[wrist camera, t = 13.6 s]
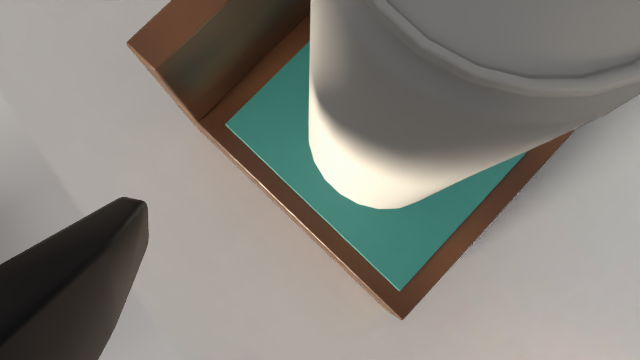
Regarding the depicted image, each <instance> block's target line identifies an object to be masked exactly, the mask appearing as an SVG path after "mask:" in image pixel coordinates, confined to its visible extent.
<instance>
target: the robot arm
mask: <svg viewBox="0 0 640 360" xmlns="http://www.w3.org/2000/svg"><path fill="white" fill-rule="evenodd" d="M148 238H149V233H148V207H147V204H146V203H145V202H144V201H142V200H137V199H133V198H128V197H121V198H118V199H116V200H115V201H113V202H111V203H109V204H107V205H106V206H104V207H102V208H100V209H99V210H97V211H95V212H93V213H91V214H90V215H88V216H86V217H84V218H82V219H81V220H79V221H77V222H75V223H74V224H72V225H70V226H69V227H67V228H65V229H63V230H61V231H59V232H58V233H56V234H54V235H52V236H50V237H49V238H47V239H45V240H43V241H42V242H40V243H38V244H36V245H34V246H33V247H31V248H29V249H27V250H25V251H24V252H22V253H20V254H18V255H17V256H15V257H13V258H11V259H10V260H8V261H6V262H4V263H2V264H1V265H0V360H98V359H99V357H100V355H101V353H102V351H103V350H104V348H105V346H106V344H107V342H108V340H109V338H110V336H111V334H112V332H113V330H114V328H115V326H116V324H117V321H118V319H119V317H120V314H121V312H122V309H123V307H124V304H125V302H126V299H127V296H128V294H129V292H130V289H131V287H132V284H133V282H134V279H135V277H136V274H137V271H138V269H139V266H140V264H141V261H142V259H143V256H144V254H145V251H146V248H147V245H148Z"/></svg>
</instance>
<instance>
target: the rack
mask: <svg viewBox="0 0 640 360" xmlns="http://www.w3.org/2000/svg"><path fill="white" fill-rule="evenodd" d="M310 13H311V0H171V1H170V2H169V3H168V4H167V5H166V6H165V7H164V8H163V9H162V10H161V11H160V12H159V13H158V14H156V15H155V16H154V17H153V18H152V19H151V20H150V21H149V22H148V23H147V24H146V25H145V26H144V27H143V28H141V29H140V30H139V31H138V32H137V33H136V34H135V35H134V36H133V37H132V38H131V39H130V40H129V41H128V42H127V46H128V47H129V48H130V49H131V50H132V52H133V53H134V54H135V55H136V56H137V58H138V59H139V60H140V61H141V62H142V63H143V65H144V66H145V67H146V68H147V69H148V71H149V72H150V73H151V74H152V75H153V76H154V78H155V79H156V80H157V81H158V82H159V84H160V85H161V86H162V87H163V88H164V90H165V91H166V92H167V93H168V94H169V95H170V97H171V98H172V99H173V100H174V101H175V103H176V104H177V105H178V106H179V107H180V109H181V110H182V111H183V112H184V113H185V114H186V116H187V117H188V118H189V119H190V120H191V122H192V123H193V124H194V125H195V126H196V127H197V128H198V129H199V130H200V131H201V132H202V133H203V134H204V135H205V136H206V137H207V138H208V139H209V140H210V141H211V142H212V143H214V144H215V145H216V146H217V147H218V148H219V149H220V150H221V151H222V152H223V153H224V154H225V155H226V156H227V157H228V158H229V159H230V160H231V161H232V162H233V163H234V164H235V165H236V166H237V167H238V168H239V169H240V170H242V171H243V172H244V173H245V174H246V175H247V176H248V177H249V178H250V179H251V180H252V181H253V182H254V183H255V184H256V185H257V186H258V187H259V188H260V189H261V190H262V191H263V192H264V193H265V194H266V195H267V196H269V197H270V198H271V199H272V200H273V201H274V202H275V203H276V204H277V205H278V206H279V207H280V208H281V209H282V210H283V211H284V212H285V213H286V214H287V215H288V216H289V217H290V218H291V219H292V220H293V221H294V222H296V223H297V224H298V225H299V226H300V227H301V228H302V229H303V230H304V231H305V232H306V233H307V234H308V235H309V236H310V237H311V238H312V239H313V240H314V241H315V242H316V243H317V244H318V245H319V246H320V247H321V248H322V249H324V250H325V251H326V252H327V253H328V254H329V255H330V256H331V257H332V258H333V259H334V260H335V261H336V262H337V263H338V264H339V265H340V266H341V267H342V268H343V269H344V270H345V271H346V272H347V273H348V274H349V275H351V276H352V277H353V278H354V279H355V280H356V281H357V282H358V283H359V284H360V285H361V286H362V287H363V288H364V289H365V290H366V291H367V292H368V293H369V294H370V295H371V296H372V297H373V298H374V299H375V300H376V301H378V302H379V303H380V304H381V305H382V306H383V307H384V308H385V309H386V310H387V311H388V312H390V313H391V314H393V315H394V316H396V317H397V318H399V319H400V320H403V319H404V318H405V317H406V316H407V315H408V314H409V313H410V312H411V311H412V309H413V308H414V307H415V306H416V305H417V304H418V303H419V302H420V301H421V299H422V298H423V297H424V296H425V295H426V294H427V293H428V292H429V291H430V290H431V288H432V287H433V286H434V285H435V284H436V283H437V282H438V281H439V280H440V278H441V277H442V276H443V275H444V274H445V273H446V272H447V271H448V270H449V268H450V267H451V266H452V265H453V264H454V263H455V262H456V261H457V260H458V259H459V257H460V256H461V255H462V254H463V253H464V252H465V251H466V250H467V249H468V247H469V246H470V245H471V244H472V243H473V242H474V241H475V240H476V239H477V238H478V236H479V235H480V234H481V233H482V232H483V231H484V230H485V229H486V228H487V226H488V225H489V224H490V223H491V222H492V221H493V220H494V219H495V218H496V217H497V215H498V214H499V213H500V212H501V211H502V210H503V209H504V208H505V207H506V205H507V204H508V203H509V202H510V201H511V200H512V199H513V198H514V197H515V196H516V194H517V193H518V192H519V191H520V190H521V189H522V188H523V187H524V186H525V184H526V183H527V182H528V181H529V180H530V179H531V178H532V177H533V176H534V174H535V173H536V172H537V171H538V170H539V169H540V168H541V167H542V166H543V165H544V163H545V162H546V161H547V160H548V159H549V158H550V157H551V156H552V155H553V153H554V152H555V151H556V150H557V149H558V148H559V147H560V146H561V145H562V144H563V142H564V141H565V140H566V139H567V138H568V137H569V136H570V135H571V134H572V132H573V131H574V130H575V129H574V130H572V131H570V132H567V133H565V134H563V135H561V136H559V137H557V138H555V139H552V140H550V141H548V142H546V143H544V144H542V145H539V146H537V147H535V148H533V149H531V150H529V151H526V152H524V153H522V154H519V155H517V156H515V157H513V158H510V159H508V160H506V161H503V162H501V163H499V164H497V165H494V166H492V167H490V168H487V169H485V170H483V171H481V172H478V173H476V174H474V175H472V176H469V177H467V178H465V179H463V180H461V181H459V182H457V183H455V184H453V185H450V186H448V187H446V188H444V189H442V190H440V191H438V192H436V193H434V194H432V195H430V196H428V197H426V198H424V199H422V200H420V201H418V202H415V203H412V204H410V205H407V206H404V207H401V208H395V209H376V208H372V207H368V206H364V205H360V204H357V203H355V202H354V201H352V200H350V199H348V198H346V197H345V196H343V195H341V194H340V193H339V192H337V191H336V190H335V189H334V188H333V187H332V186H331V185H330V184H329V183H328V182H327V181H326V180H325V179H324V177H323V175H322V174H321V172H320V170H319V169H318V167H317V165H316V164H315V162H314V159H313V155H312V152H311V148H310V145H309V72H310Z"/></svg>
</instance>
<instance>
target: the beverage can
mask: <svg viewBox="0 0 640 360" xmlns="http://www.w3.org/2000/svg"><path fill="white" fill-rule="evenodd" d="M639 94H640V0H311V13H310V72H309V145H310V148H311V152H312V155H313V159H314V162H315V164H316V165H317V167H318V169H319V170H320V172H321V174H322V175H323V177H324V179H325V180H326V181H327V182H328V183H329V184H330V185H331V186H332V187H333V188H334V189H335V190H336V191H337V192H339V193H340V194H341V195H343V196H345V197H346V198H348V199H350V200H352V201H354V202H355V203H357V204H360V205H364V206H368V207H372V208H376V209H395V208H401V207H404V206H407V205H410V204H412V203H415V202H418V201H420V200H422V199H424V198H426V197H428V196H430V195H432V194H434V193H436V192H438V191H440V190H442V189H444V188H446V187H448V186H450V185H453V184H455V183H457V182H459V181H461V180H463V179H465V178H467V177H469V176H472V175H474V174H476V173H478V172H481V171H483V170H485V169H487V168H490V167H492V166H494V165H497V164H499V163H501V162H503V161H506V160H508V159H510V158H513V157H515V156H517V155H519V154H522V153H524V152H526V151H529V150H531V149H533V148H535V147H537V146H539V145H542V144H544V143H546V142H548V141H550V140H552V139H555V138H557V137H559V136H561V135H563V134H565V133H567V132H570V131H572V130H574V129H576V128H578V127H580V126H582V125H584V124H586V123H588V122H591V121H593V120H595V119H597V118H599V117H601V116H603V115H605V114H607V113H609V112H611V111H612V110H614V109H616V108H617V107H619V106H621V105H622V104H624V103H626V102H627V101H629V100H631V99H632V98H634V97H635V96H637V95H639Z"/></svg>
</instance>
